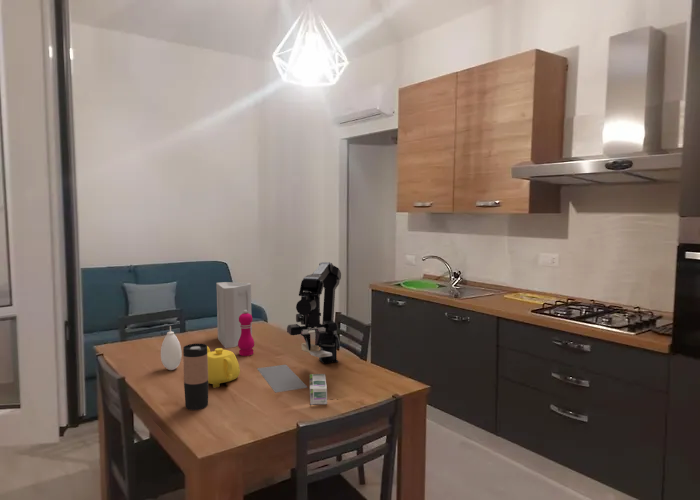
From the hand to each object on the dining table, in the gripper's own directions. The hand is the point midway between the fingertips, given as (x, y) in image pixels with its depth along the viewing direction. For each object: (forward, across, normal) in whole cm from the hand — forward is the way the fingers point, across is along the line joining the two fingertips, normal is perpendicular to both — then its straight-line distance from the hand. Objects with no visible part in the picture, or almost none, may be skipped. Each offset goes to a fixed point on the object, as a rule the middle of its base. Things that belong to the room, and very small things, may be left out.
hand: (312, 349), depth 189 cm
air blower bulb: (+11, +49, -32) cm, 60 cm away
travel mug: (+11, +44, +10) cm, 46 cm away
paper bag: (+11, +17, -64) cm, 67 cm away
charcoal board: (+11, +12, -2) cm, 16 cm away
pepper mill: (+11, +17, -41) cm, 46 cm away
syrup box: (+8, +2, +12) cm, 15 cm away
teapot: (+11, +34, -11) cm, 37 cm away
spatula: (+1, 0, +2) cm, 2 cm away
